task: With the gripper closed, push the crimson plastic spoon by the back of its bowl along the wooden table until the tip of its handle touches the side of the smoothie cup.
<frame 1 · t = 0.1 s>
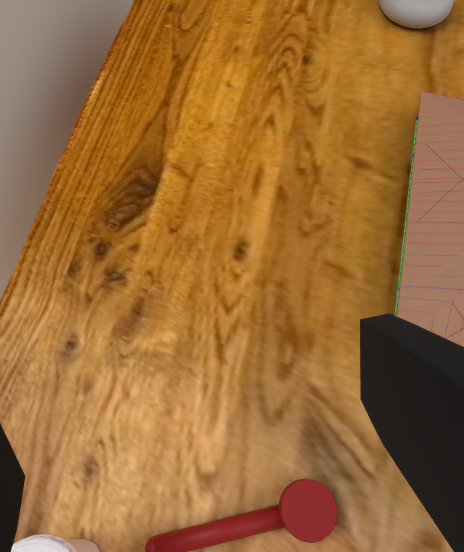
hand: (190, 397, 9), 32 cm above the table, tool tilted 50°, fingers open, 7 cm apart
spoon: (252, 521, 36), on the table
donut: (410, 10, 62), on the table
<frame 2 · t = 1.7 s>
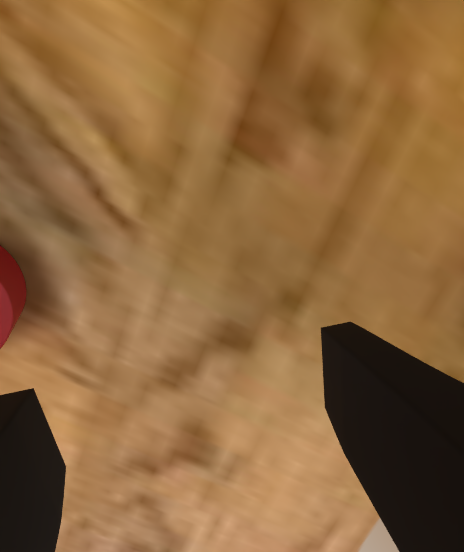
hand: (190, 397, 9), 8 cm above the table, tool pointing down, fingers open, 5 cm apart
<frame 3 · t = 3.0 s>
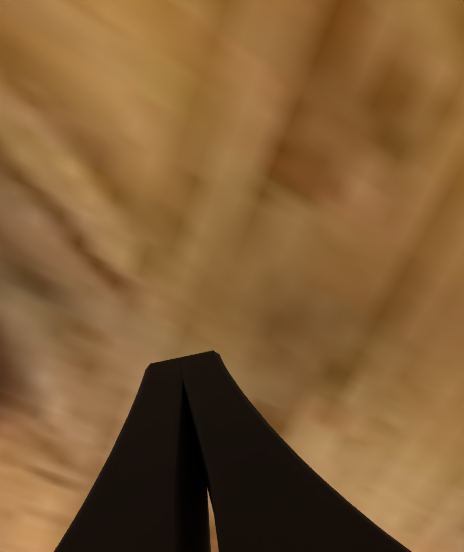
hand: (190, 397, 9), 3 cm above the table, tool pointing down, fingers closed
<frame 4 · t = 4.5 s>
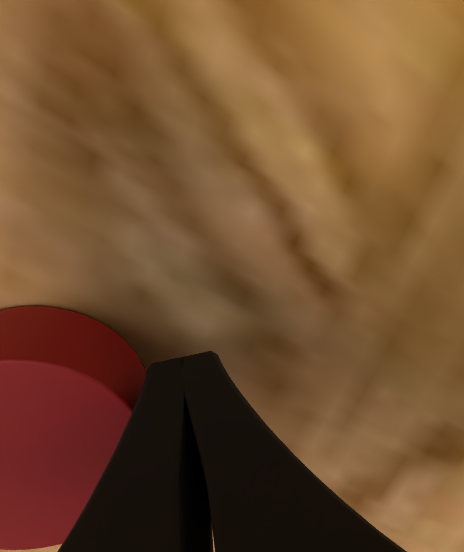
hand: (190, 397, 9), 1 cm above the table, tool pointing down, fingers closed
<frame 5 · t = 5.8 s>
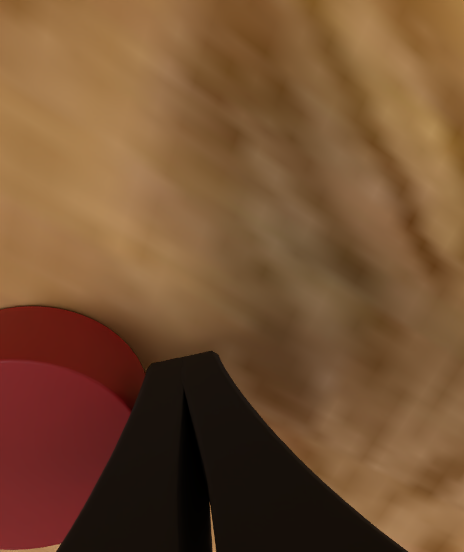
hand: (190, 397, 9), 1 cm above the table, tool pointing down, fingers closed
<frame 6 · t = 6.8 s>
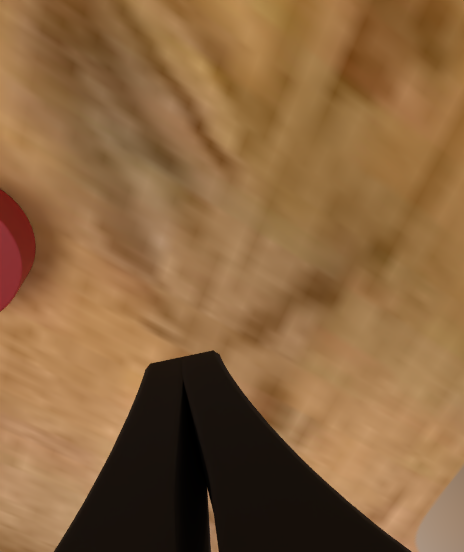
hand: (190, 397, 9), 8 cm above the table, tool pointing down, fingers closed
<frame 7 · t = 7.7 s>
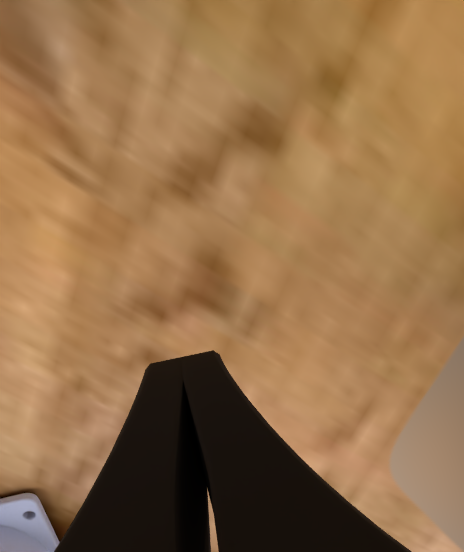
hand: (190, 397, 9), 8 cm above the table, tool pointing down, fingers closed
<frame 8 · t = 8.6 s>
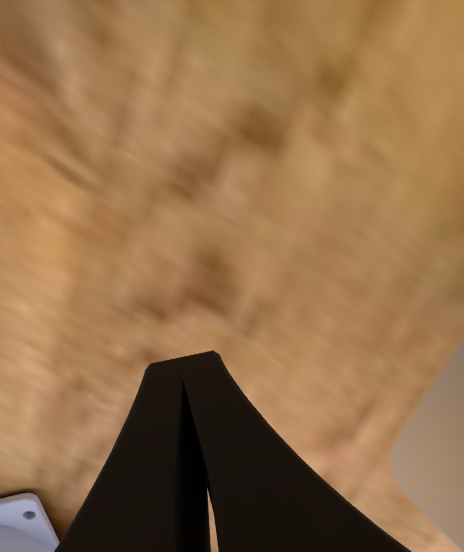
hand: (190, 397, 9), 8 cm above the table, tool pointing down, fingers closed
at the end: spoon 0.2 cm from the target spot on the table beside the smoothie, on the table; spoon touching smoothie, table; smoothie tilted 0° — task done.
